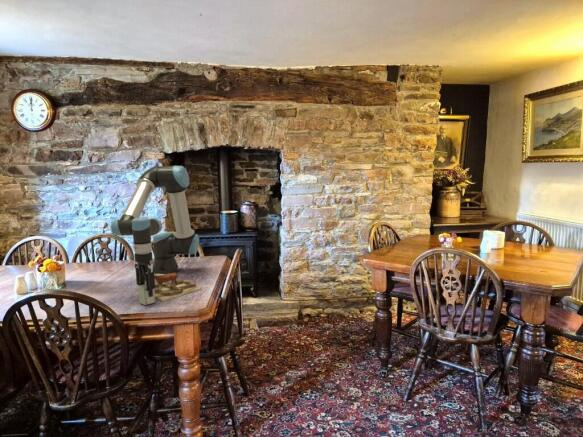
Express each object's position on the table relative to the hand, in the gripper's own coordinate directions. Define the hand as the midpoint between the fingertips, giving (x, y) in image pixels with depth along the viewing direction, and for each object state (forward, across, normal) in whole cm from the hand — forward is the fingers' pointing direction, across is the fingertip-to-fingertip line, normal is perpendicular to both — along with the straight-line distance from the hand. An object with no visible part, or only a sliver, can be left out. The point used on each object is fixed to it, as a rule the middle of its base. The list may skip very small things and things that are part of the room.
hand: (147, 301), depth 180 cm
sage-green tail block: (0, 0, 0) cm, 0 cm away
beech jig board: (+1, -7, +17) cm, 18 cm away
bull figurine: (-1, -7, +13) cm, 15 cm away
